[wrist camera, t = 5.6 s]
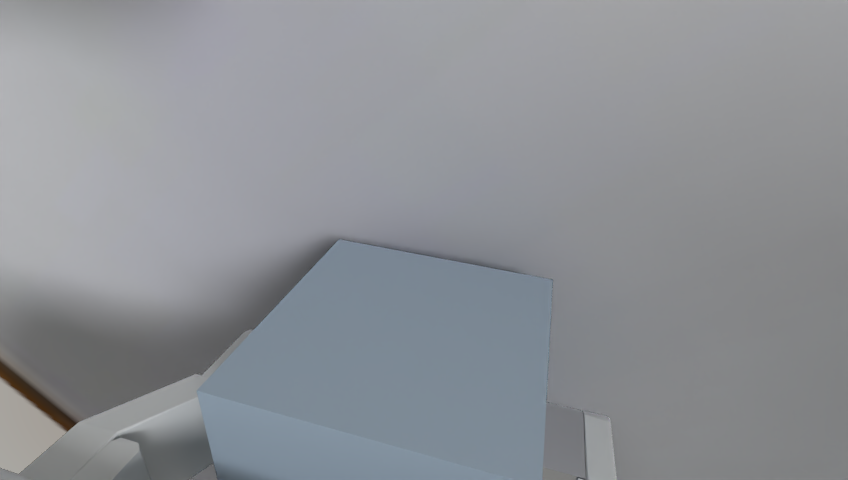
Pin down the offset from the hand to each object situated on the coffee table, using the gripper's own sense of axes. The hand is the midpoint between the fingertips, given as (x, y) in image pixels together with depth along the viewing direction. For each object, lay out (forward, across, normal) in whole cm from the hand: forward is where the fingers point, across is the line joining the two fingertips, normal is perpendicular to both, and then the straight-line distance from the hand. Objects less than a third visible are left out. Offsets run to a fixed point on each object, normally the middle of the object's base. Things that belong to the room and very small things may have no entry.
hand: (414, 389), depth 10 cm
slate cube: (+2, 0, 0) cm, 2 cm away
